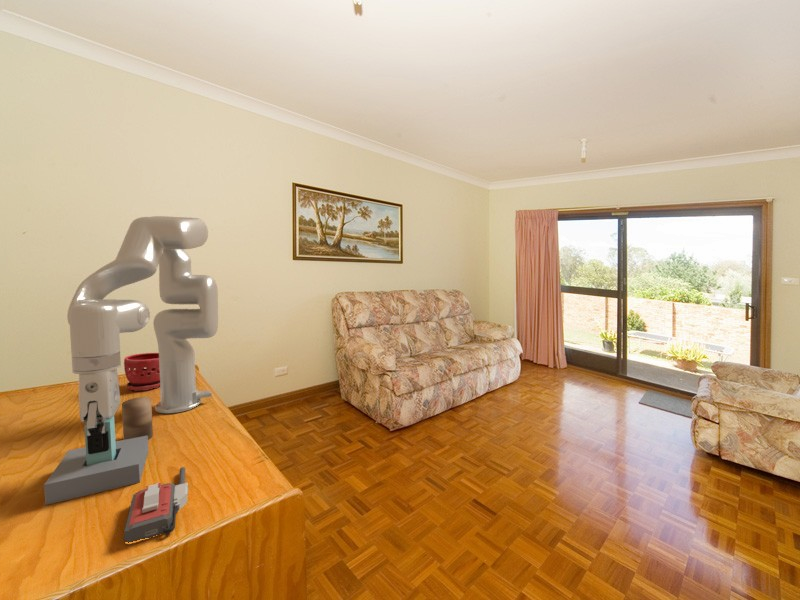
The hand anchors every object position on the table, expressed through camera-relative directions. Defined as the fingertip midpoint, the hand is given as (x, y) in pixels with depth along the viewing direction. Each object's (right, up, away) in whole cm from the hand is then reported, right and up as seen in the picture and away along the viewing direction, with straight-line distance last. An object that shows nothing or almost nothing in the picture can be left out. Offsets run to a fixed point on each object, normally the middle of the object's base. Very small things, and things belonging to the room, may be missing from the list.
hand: (101, 446), depth 72 cm
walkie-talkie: (+18, -8, -8) cm, 22 cm away
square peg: (0, -4, 0) cm, 4 cm away
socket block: (0, -6, +1) cm, 6 cm away
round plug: (-5, -5, +16) cm, 18 cm away
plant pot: (-31, -2, +55) cm, 64 cm away
